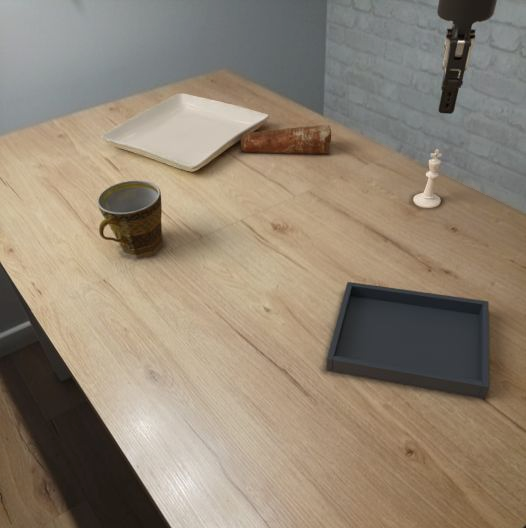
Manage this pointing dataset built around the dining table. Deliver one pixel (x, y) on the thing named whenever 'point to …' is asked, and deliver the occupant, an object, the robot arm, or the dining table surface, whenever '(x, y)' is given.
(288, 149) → the rusty brown tapered cylinder
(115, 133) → the square plate
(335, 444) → the dining table surface
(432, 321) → the tray
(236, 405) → the dining table surface
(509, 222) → the dining table surface
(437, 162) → the chess piece
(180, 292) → the dining table surface
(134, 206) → the ceramic cup
